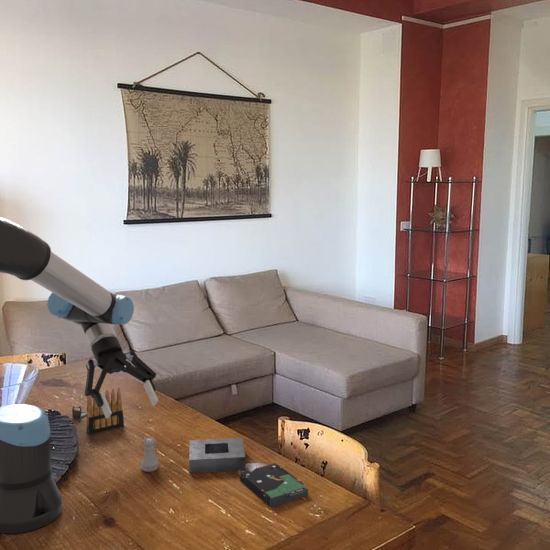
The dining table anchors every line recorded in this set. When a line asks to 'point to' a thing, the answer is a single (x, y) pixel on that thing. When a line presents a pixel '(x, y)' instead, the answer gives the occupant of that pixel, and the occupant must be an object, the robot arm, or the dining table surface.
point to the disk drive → (273, 485)
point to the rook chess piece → (149, 455)
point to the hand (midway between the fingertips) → (132, 409)
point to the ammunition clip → (97, 415)
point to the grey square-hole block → (216, 455)
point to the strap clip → (77, 414)
